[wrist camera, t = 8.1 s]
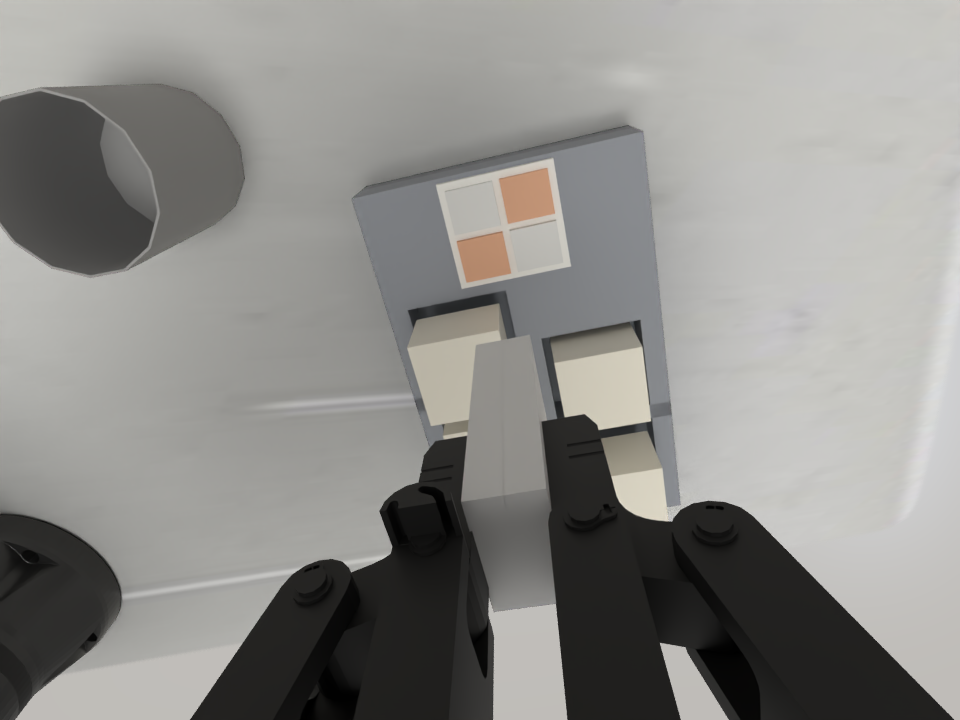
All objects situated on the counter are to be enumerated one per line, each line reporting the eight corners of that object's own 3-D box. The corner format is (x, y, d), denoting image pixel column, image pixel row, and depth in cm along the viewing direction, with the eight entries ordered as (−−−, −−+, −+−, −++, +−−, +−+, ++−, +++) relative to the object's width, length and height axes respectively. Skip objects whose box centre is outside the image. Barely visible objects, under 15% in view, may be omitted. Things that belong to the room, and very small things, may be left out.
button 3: (561, 402, 39) (568, 435, 36) (549, 335, 37) (554, 363, 34) (637, 388, 39) (651, 421, 35) (628, 320, 37) (642, 346, 33)
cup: (269, 153, 36) (191, 180, 27) (204, 254, 38) (113, 309, 30) (142, 51, 33) (9, 43, 24) (82, 167, 36) (-55, 197, 27)
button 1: (581, 503, 41) (589, 545, 37) (569, 443, 38) (576, 481, 35) (654, 491, 40) (669, 533, 36) (647, 430, 38) (662, 468, 34)
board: (461, 502, 47) (457, 545, 42) (366, 186, 36) (348, 201, 32) (666, 470, 45) (683, 511, 41) (628, 125, 34) (646, 132, 30)
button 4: (437, 392, 37) (431, 426, 34) (416, 319, 35) (407, 348, 31) (515, 377, 36) (517, 410, 33) (499, 303, 34) (498, 330, 31)
